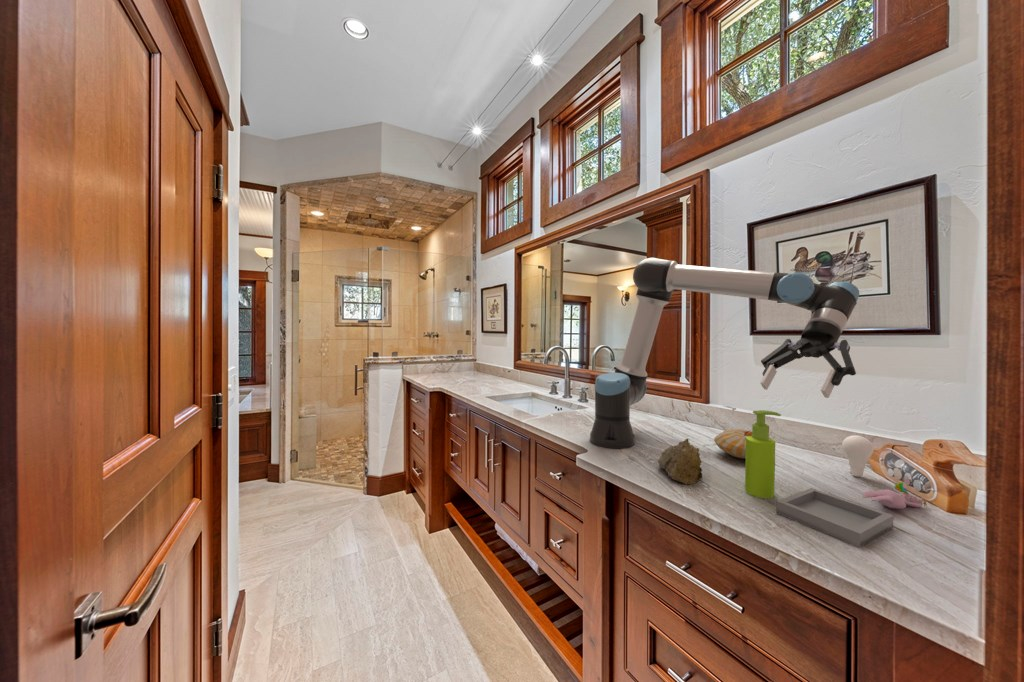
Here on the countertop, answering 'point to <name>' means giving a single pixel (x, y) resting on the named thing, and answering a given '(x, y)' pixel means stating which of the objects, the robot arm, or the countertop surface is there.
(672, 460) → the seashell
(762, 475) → the soap dispenser
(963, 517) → the countertop surface
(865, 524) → the holder tray
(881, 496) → the rabbit figure
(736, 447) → the nautilus
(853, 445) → the lightbulb
